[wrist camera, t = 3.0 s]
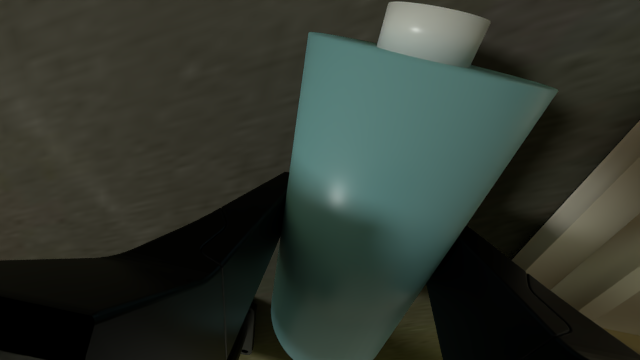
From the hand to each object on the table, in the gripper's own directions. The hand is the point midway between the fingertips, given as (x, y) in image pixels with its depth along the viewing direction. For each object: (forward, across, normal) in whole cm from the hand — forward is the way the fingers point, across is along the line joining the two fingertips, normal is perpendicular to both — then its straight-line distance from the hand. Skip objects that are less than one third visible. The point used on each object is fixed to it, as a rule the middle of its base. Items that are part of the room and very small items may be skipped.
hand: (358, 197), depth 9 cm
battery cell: (+1, 0, 0) cm, 1 cm away
